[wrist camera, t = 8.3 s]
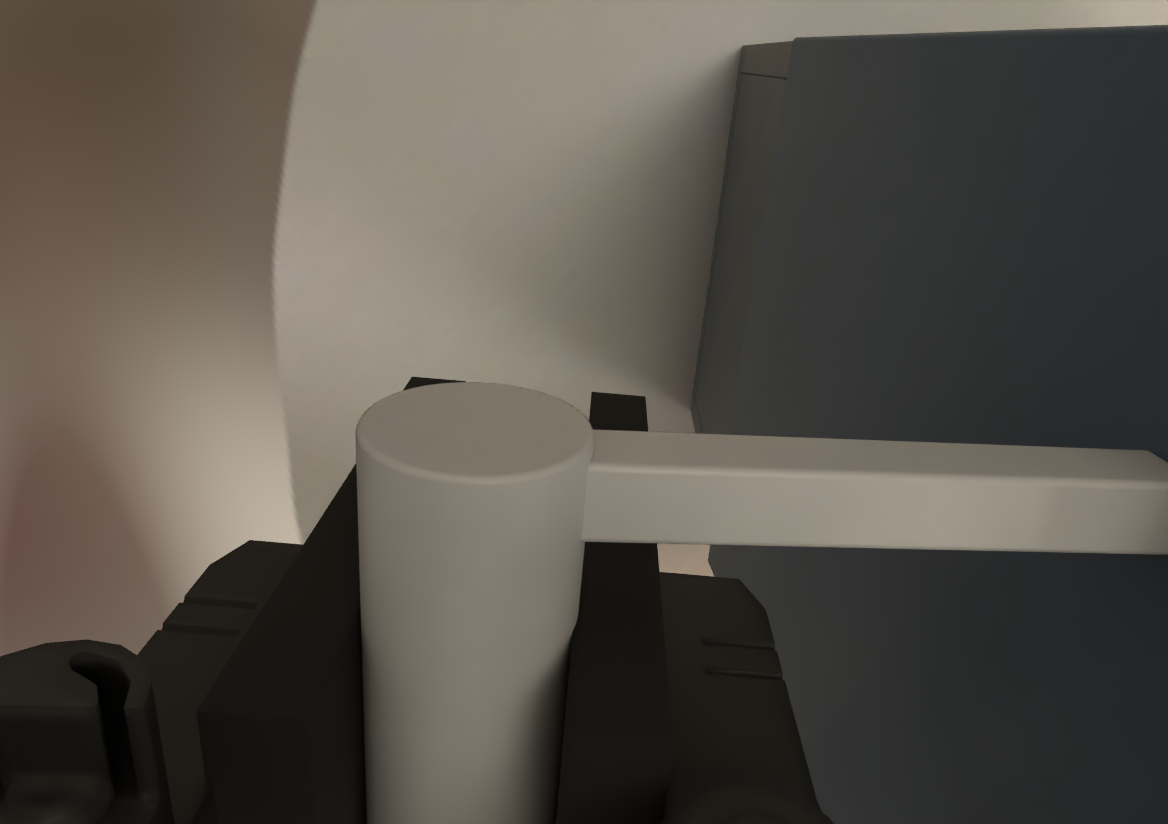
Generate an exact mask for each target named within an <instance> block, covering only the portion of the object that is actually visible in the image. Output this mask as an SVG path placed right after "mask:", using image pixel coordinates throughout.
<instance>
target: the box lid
mask: <svg viewBox="0 0 1168 824" xmlns="http://www.w3.org/2000/svg"><path fill="white" fill-rule="evenodd" d="M355 433H356V467H357V502H358V536H359V571H360V605H361V640H362V674H363V709H364V743H365V778H366V812H367V824H556V816H557V804H558V793H559V781H560V770H561V758H562V747H563V735H564V724H565V712H566V701H567V689H568V677H569V666H570V654H571V643H572V632H573V630H574V627H575V625H576V623H577V618H578V612H579V601H580V590H581V580H582V569H583V559H584V548H585V542H618V543H662V544H707V545H710V551H709V558H708V561H709V564H710V567H711V569H712V572H713V574H714V577H723V578H734V579H740V580H741V582H742V583H743V584H744V585H745V586H746V587H747V588H748V589H749V591H750V592H751V593H752V594H753V595H754V596H755V597H756V599H757V600H758V601H759V602H760V603H761V604H762V605H763V607H764V608H765V609H766V612H767V615H768V619H769V623H770V627H771V630H772V634H773V638H774V642H775V651H777V653H778V657H779V660H780V664H781V668H782V672H783V680H784V681H785V683H786V686H787V690H788V694H789V698H790V701H791V705H792V709H793V713H794V716H795V720H796V724H797V728H798V731H799V735H800V739H801V743H802V746H803V750H804V754H805V758H806V761H807V765H808V769H809V773H810V776H811V780H812V784H813V788H814V791H815V795H816V799H817V801H818V804H819V806H820V808H821V811H822V813H823V814H825V815H827V816H828V817H829V818H830V819H831V820H832V822H833V823H834V824H1168V25H1152V26H1123V27H1093V28H1064V29H1035V30H1005V31H976V32H946V33H917V34H887V35H858V36H828V37H799V38H795V39H794V40H793V43H792V49H791V55H790V61H789V67H788V73H787V79H786V86H785V92H784V98H783V104H782V110H781V116H780V122H779V129H778V135H777V141H776V147H775V153H774V159H773V165H772V171H771V178H770V184H769V190H768V196H767V202H766V208H765V214H764V220H763V227H762V233H761V239H760V245H759V251H758V257H757V263H756V269H755V276H754V282H753V288H752V294H751V300H750V306H749V312H748V319H747V325H746V331H745V337H744V343H743V349H742V355H741V361H740V368H739V374H738V380H737V386H736V392H735V398H734V404H733V410H732V417H731V423H730V429H729V435H723V434H696V433H669V432H643V431H616V430H593V429H592V427H591V424H590V422H589V421H588V419H587V418H586V417H585V416H584V415H583V414H582V413H581V412H580V411H579V410H578V409H576V408H575V407H573V406H572V405H570V404H568V403H566V402H565V401H562V400H560V399H558V398H556V397H553V396H551V395H548V394H545V393H542V392H538V391H535V390H531V389H526V388H522V387H517V386H511V385H504V384H495V383H482V382H456V383H442V384H434V385H427V386H421V387H416V388H412V389H408V390H404V391H401V392H398V393H395V394H392V395H390V396H388V397H385V398H383V399H381V400H380V401H378V402H376V403H374V404H373V405H372V406H370V407H369V408H368V409H367V410H366V411H365V412H364V413H363V414H362V416H361V418H360V420H359V422H358V424H357V427H356V432H355Z"/></svg>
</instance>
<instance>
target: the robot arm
mask: <svg viewBox="0 0 1168 824" xmlns="http://www.w3.org/2000/svg"><path fill="white" fill-rule="evenodd" d="M456 382H465V381H456V380H444V379H433V378H421V377H411V379H410V381H409V382H408V384H407V385H406V387H405V388H404V390H408V389H412V388H416V387H421V386H427V385H434V384H442V383H456ZM404 390H403V391H404ZM589 422H590V424H591V427H592V429H593V430H616V431H643V432H648V424H647V411H646V398H645V396H633V395H622V394H610V393H598V392H592V395H591V406H590V418H589ZM0 824H367V812H366V778H365V743H364V709H363V674H362V640H361V605H360V571H359V536H358V502H357V467H356V464H355V466H354V467H353V469H352V470H351V472H350V473H349V475H348V477H347V478H346V480H345V481H344V483H343V484H342V486H341V487H340V489H339V491H338V492H337V494H336V495H335V497H334V498H333V500H332V501H331V503H330V504H329V506H328V508H327V509H326V511H325V512H324V514H323V515H322V517H321V518H320V520H319V522H318V523H317V525H316V526H315V528H314V529H313V531H312V532H311V534H310V535H309V537H308V539H307V540H306V542H305V543H304V545H300V544H288V543H277V542H265V541H253V540H249V541H248V542H246V543H245V544H243V545H241V546H240V547H238V548H236V549H235V550H233V551H232V552H230V553H228V554H227V555H225V556H224V557H222V558H220V559H219V560H217V561H216V562H214V563H212V564H211V565H209V567H208V568H207V569H206V570H205V572H204V573H203V574H202V575H201V577H200V578H199V579H198V580H197V582H196V583H195V584H194V585H193V586H192V588H191V589H190V590H189V591H188V593H187V594H186V595H185V599H184V602H183V603H179V604H178V605H177V606H176V608H175V609H174V610H173V611H172V613H171V614H170V615H169V616H168V618H167V619H166V620H165V621H164V623H163V628H162V630H157V631H156V632H155V634H154V635H153V636H152V637H151V639H150V640H149V641H148V642H147V644H146V645H145V646H144V647H143V649H142V650H141V651H140V652H139V654H138V655H135V654H134V653H132V652H131V651H129V650H128V649H126V648H124V647H123V646H121V645H117V644H111V643H105V642H99V641H92V640H76V641H66V642H54V643H45V644H41V645H38V646H35V647H31V648H28V649H24V650H21V651H17V652H14V653H10V654H7V655H3V656H1V657H0ZM556 824H834V823H833V822H832V820H831V819H830V818H829V817H828V816H827V815H825V814H823V813H822V811H821V808H820V806H819V804H818V801H817V799H816V795H815V791H814V788H813V784H812V780H811V776H810V773H809V769H808V765H807V761H806V758H805V754H804V750H803V746H802V743H801V739H800V735H799V731H798V728H797V724H796V720H795V716H794V713H793V709H792V705H791V701H790V698H789V694H788V690H787V686H786V683H785V681H784V680H783V672H782V668H781V664H780V660H779V657H778V653H777V651H775V642H774V638H773V634H772V630H771V627H770V623H769V619H768V615H767V612H766V609H765V608H764V607H763V605H762V604H761V603H760V602H759V601H758V600H757V599H756V597H755V596H754V595H753V594H752V593H751V592H750V591H749V589H748V588H747V587H746V586H745V585H744V584H743V583H742V582H741V580H740V579H734V578H723V577H711V576H700V575H688V574H676V573H665V572H659V563H658V550H657V543H618V542H585V548H584V559H583V569H582V580H581V590H580V601H579V612H578V618H577V623H576V625H575V627H574V630H573V632H572V643H571V654H570V666H569V677H568V689H567V701H566V712H565V724H564V735H563V747H562V758H561V770H560V781H559V793H558V804H557V816H556Z"/></svg>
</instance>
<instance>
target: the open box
mask: <svg viewBox="0 0 1168 824" xmlns="http://www.w3.org/2000/svg"><path fill="white" fill-rule="evenodd" d="M792 43H793V41H788V42H778V43H767V44H756V45H745V46H742V51H741V58H740V65H739V72H738V79H737V86H736V93H735V100H734V107H733V114H732V121H731V129H730V136H729V143H728V150H727V157H726V164H725V171H724V178H723V185H722V192H721V199H720V206H719V213H718V220H717V227H716V234H715V241H714V248H713V255H712V263H711V270H710V277H709V284H708V291H707V298H706V305H705V312H704V319H703V326H702V333H701V340H700V347H699V354H698V361H697V368H696V375H695V382H694V389H693V396H692V404H691V414H692V418H693V423H694V428H695V433H696V434H723V435H729V429H730V423H731V417H732V410H733V404H734V398H735V392H736V386H737V380H738V374H739V368H740V361H741V355H742V349H743V343H744V337H745V331H746V325H747V319H748V312H749V306H750V300H751V294H752V288H753V282H754V276H755V269H756V263H757V257H758V251H759V245H760V239H761V233H762V227H763V220H764V214H765V208H766V202H767V196H768V190H769V184H770V178H771V171H772V165H773V159H774V153H775V147H776V141H777V135H778V129H779V122H780V116H781V110H782V104H783V98H784V92H785V86H786V79H787V73H788V67H789V61H790V55H791V49H792Z"/></svg>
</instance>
